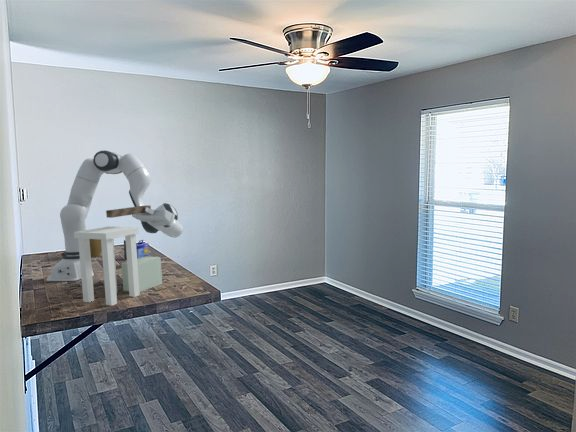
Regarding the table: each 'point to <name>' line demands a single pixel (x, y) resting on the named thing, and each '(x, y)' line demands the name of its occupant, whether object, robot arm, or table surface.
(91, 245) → the plant pot
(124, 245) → the phone stand
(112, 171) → the robot arm
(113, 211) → the wooden board
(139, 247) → the ink cartridge box
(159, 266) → the pale green cuboid block
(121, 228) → the stool
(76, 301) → the table surface
